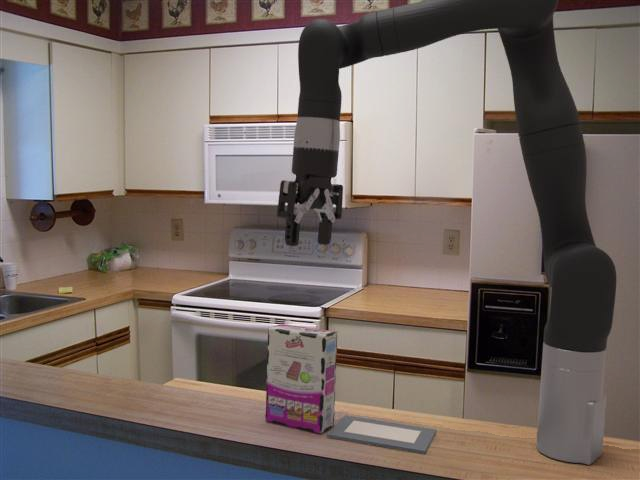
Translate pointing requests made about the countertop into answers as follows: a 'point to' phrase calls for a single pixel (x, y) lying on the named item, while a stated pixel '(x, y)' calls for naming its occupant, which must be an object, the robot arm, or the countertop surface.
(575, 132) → the robot arm
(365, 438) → the card
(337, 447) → the countertop surface
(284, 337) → the candy bar box
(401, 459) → the countertop surface
